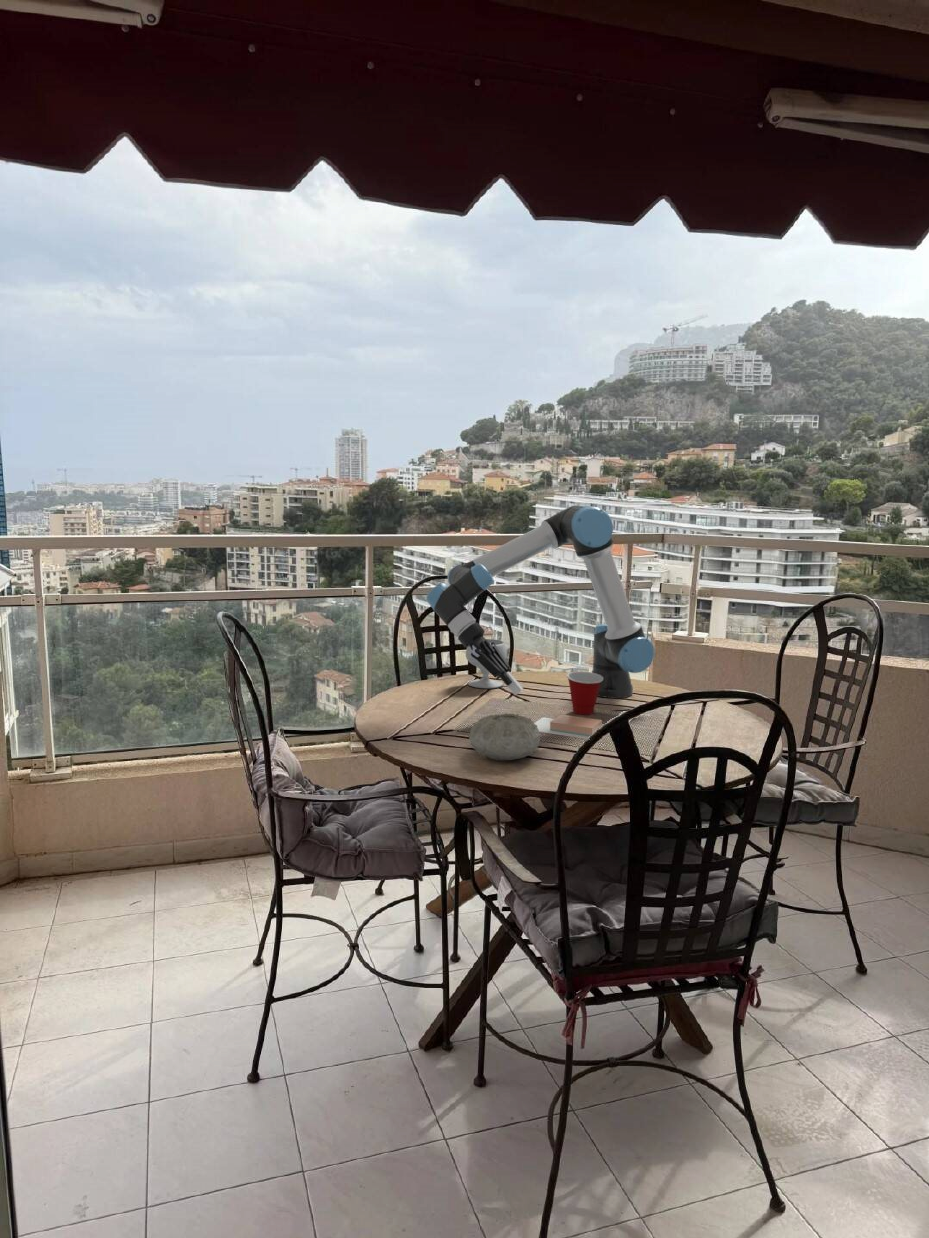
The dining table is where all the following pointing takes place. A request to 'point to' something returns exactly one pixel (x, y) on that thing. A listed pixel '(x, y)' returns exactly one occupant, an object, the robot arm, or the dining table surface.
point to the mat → (544, 726)
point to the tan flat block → (575, 725)
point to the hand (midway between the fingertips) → (519, 692)
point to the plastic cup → (584, 691)
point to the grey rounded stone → (505, 736)
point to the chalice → (485, 681)
